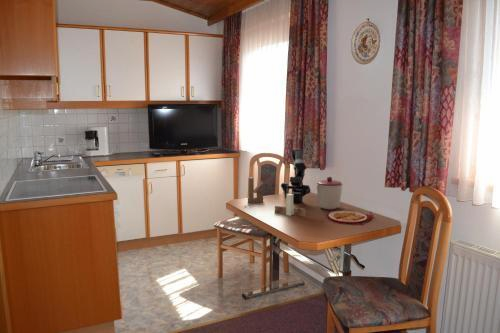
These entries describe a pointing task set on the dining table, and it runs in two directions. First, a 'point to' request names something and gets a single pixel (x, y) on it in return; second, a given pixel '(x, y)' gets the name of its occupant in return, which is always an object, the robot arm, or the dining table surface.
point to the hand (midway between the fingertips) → (291, 199)
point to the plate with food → (348, 217)
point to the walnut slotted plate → (296, 211)
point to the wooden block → (255, 191)
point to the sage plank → (289, 204)
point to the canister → (329, 193)
